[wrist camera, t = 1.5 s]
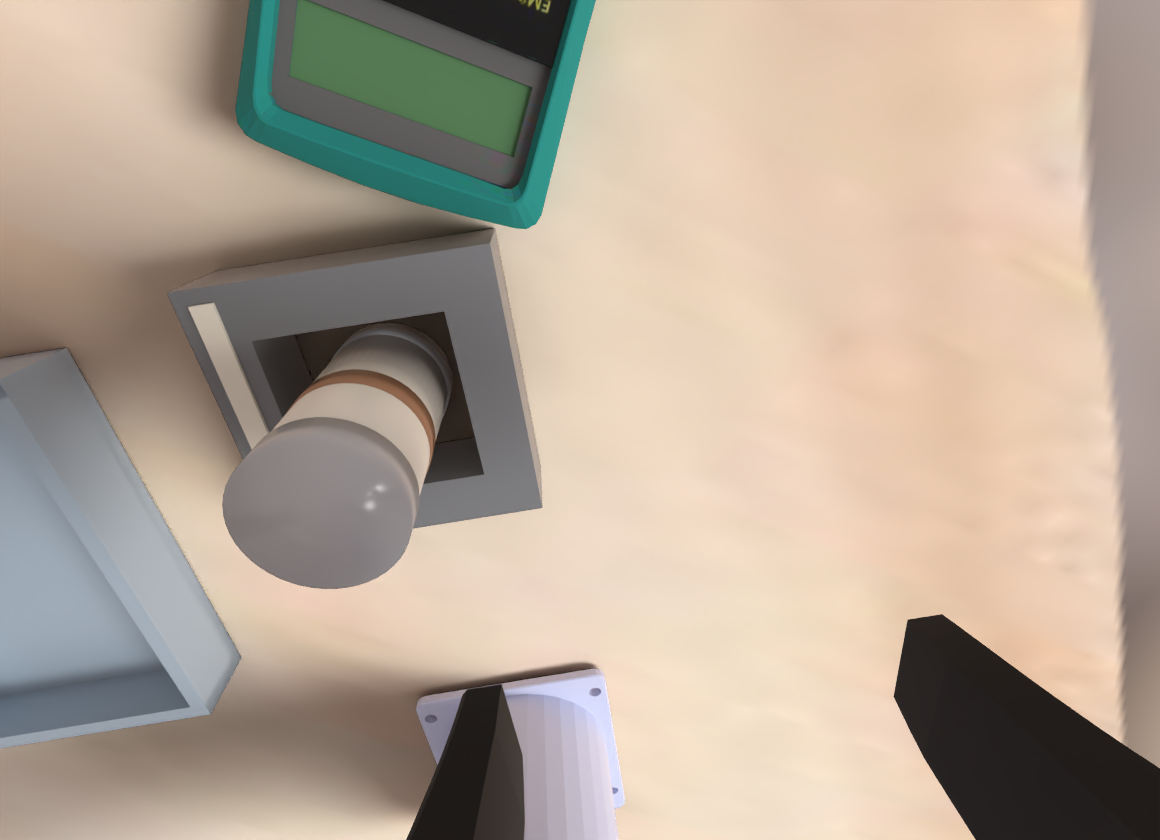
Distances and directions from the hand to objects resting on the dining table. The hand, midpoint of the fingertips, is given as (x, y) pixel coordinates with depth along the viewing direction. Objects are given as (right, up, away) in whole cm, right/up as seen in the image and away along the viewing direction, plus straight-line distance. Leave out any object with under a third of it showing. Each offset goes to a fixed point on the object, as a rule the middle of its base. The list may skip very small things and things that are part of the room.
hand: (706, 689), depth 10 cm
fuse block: (-8, +6, +8) cm, 13 cm away
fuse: (-8, +6, +8) cm, 13 cm away
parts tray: (-21, 0, +10) cm, 23 cm away
